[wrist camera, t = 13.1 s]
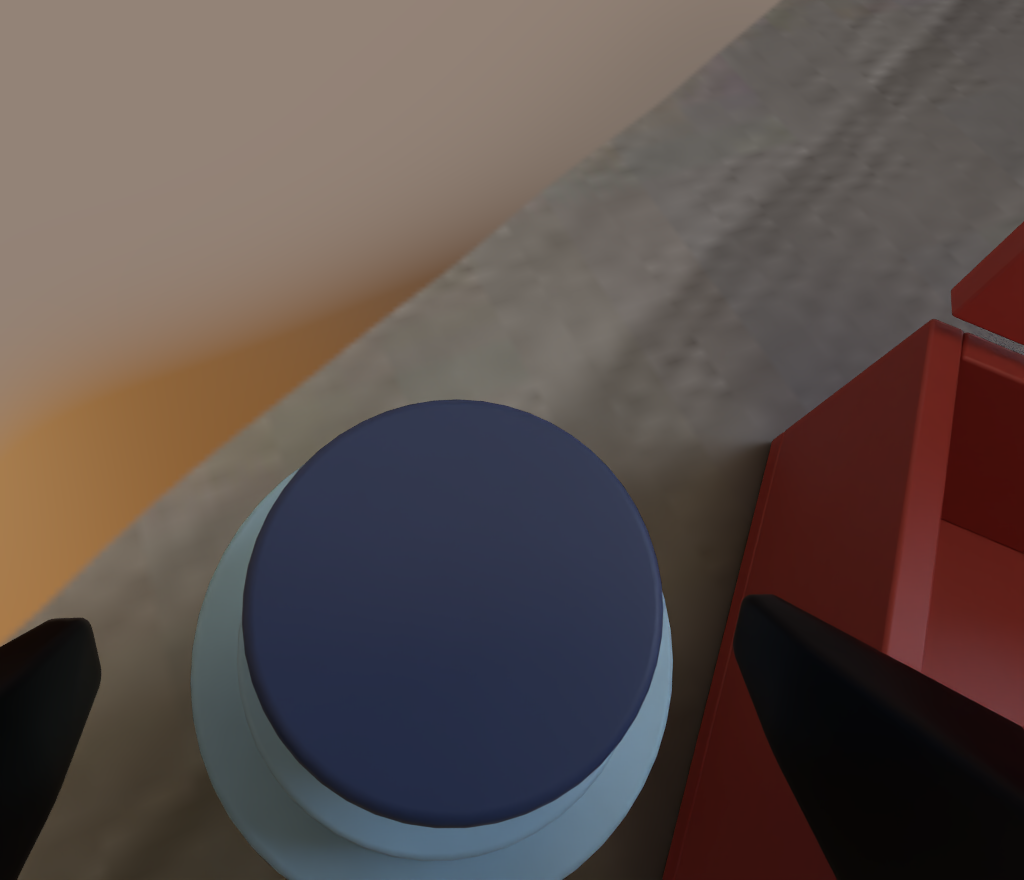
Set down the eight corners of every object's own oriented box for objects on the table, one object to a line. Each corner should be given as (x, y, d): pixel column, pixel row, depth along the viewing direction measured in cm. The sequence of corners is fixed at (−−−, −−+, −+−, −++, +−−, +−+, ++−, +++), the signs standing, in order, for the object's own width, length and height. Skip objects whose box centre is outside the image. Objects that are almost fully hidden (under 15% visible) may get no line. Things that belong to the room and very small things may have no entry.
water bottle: (475, 849, 14) (691, 1373, 3) (268, 730, 14) (-242, 797, 3) (574, 629, 16) (923, 446, 5) (391, 529, 17) (335, 149, 5)
